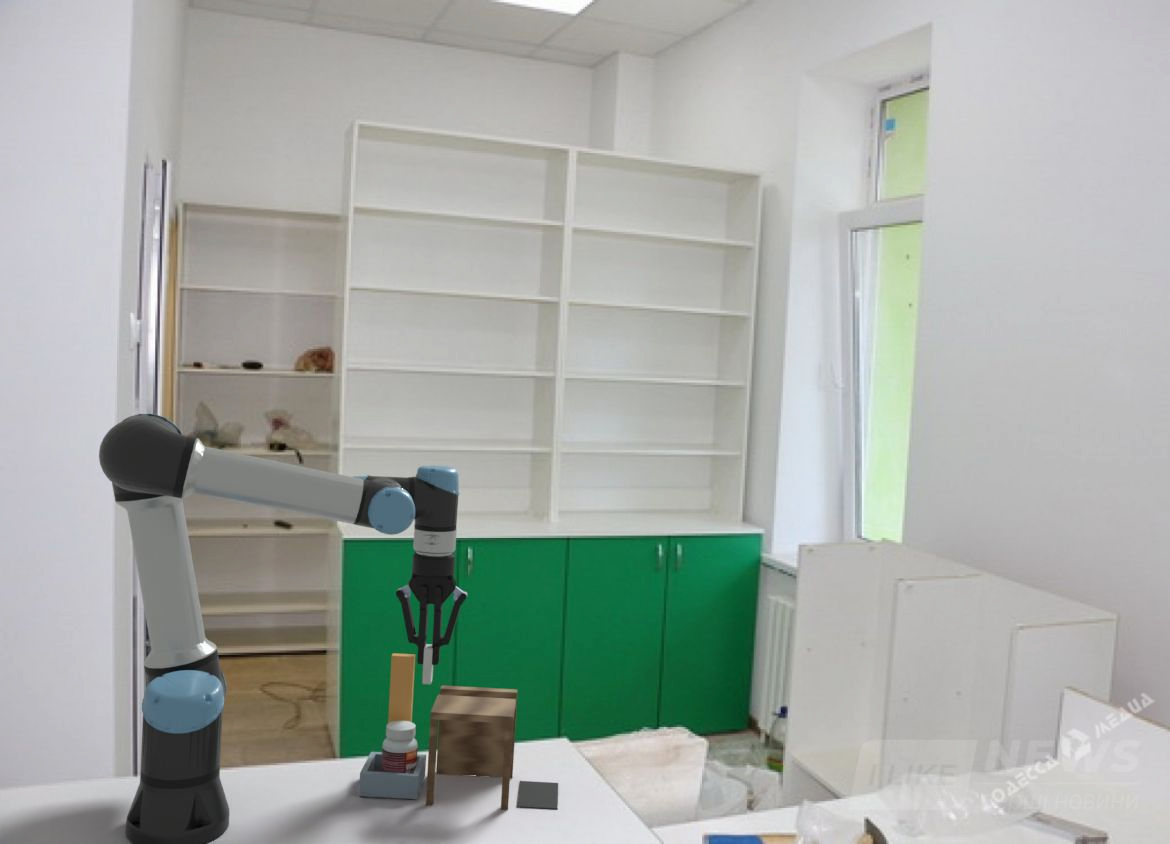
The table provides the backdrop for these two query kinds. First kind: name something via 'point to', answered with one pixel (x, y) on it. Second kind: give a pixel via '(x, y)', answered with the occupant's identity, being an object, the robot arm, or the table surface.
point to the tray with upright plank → (399, 710)
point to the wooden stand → (472, 735)
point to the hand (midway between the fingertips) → (427, 681)
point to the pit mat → (538, 795)
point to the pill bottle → (399, 748)
